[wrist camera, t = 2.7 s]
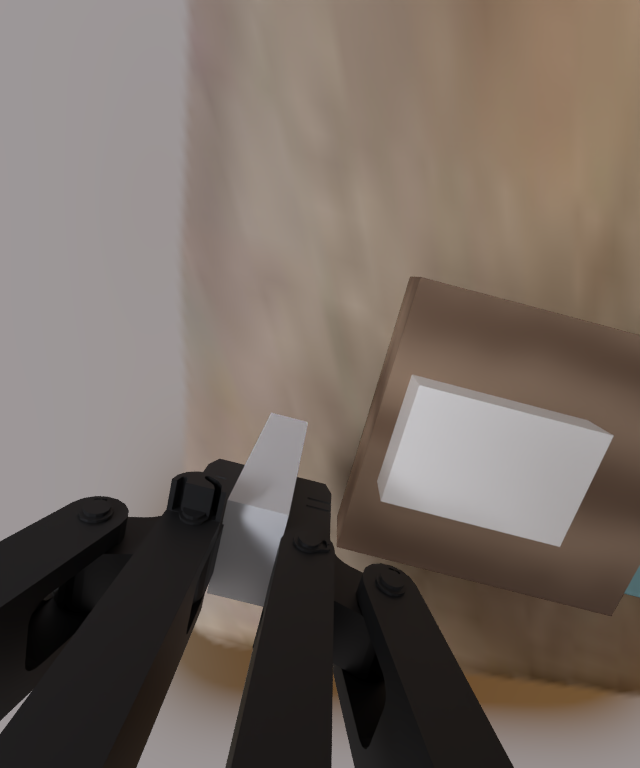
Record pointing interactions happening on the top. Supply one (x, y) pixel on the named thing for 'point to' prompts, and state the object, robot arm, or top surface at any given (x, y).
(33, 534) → the robot arm
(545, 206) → the top surface
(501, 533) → the brown wooden flat block
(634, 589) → the mat
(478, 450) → the white slab
